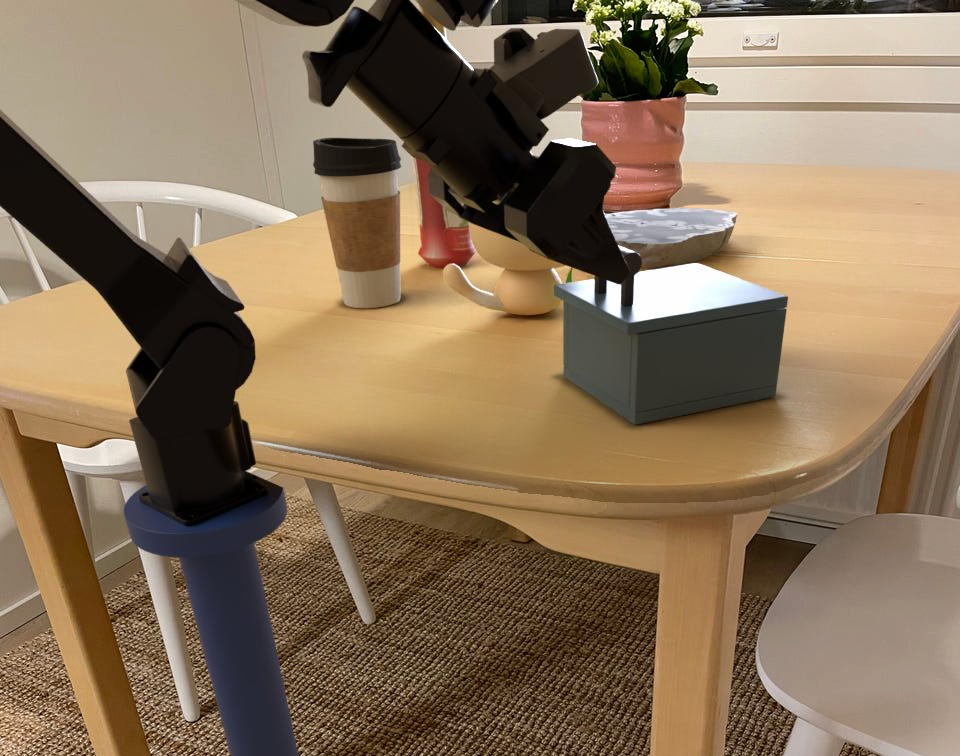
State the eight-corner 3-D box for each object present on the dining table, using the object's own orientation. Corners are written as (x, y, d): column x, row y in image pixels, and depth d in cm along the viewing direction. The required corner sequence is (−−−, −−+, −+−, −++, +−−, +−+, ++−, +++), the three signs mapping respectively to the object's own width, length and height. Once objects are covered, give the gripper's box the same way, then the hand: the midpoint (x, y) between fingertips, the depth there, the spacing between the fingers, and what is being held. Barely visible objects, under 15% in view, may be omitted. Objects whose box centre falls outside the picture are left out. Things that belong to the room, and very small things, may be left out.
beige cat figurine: (624, 304, 93) (630, 131, 84) (588, 333, 85) (590, 147, 77) (486, 293, 99) (479, 131, 90) (441, 320, 91) (429, 146, 83)
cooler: (634, 425, 67) (638, 334, 64) (562, 376, 76) (562, 294, 73) (775, 397, 70) (787, 308, 67) (690, 353, 80) (696, 273, 76)
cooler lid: (627, 335, 63) (630, 266, 61) (553, 295, 73) (552, 234, 70) (787, 307, 67) (795, 241, 64) (696, 273, 76) (701, 213, 73)
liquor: (437, 254, 115) (417, -29, 99) (490, 257, 112) (478, -33, 96) (405, 268, 110) (378, -28, 94) (460, 272, 107) (442, -33, 91)
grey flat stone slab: (625, 229, 121) (625, 204, 120) (754, 238, 113) (757, 211, 112) (549, 264, 108) (549, 236, 106) (690, 277, 100) (692, 247, 98)
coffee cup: (336, 292, 102) (316, 135, 94) (415, 288, 102) (401, 130, 94) (327, 314, 95) (303, 147, 87) (411, 309, 95) (396, 141, 87)
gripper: (585, -32, 48) (749, 182, 57) (458, -19, 63) (605, 150, 72) (450, 159, 50) (628, 335, 59) (358, 128, 65) (513, 273, 74)
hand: (592, 264), depth 66 cm, fingers open, 9 cm apart
